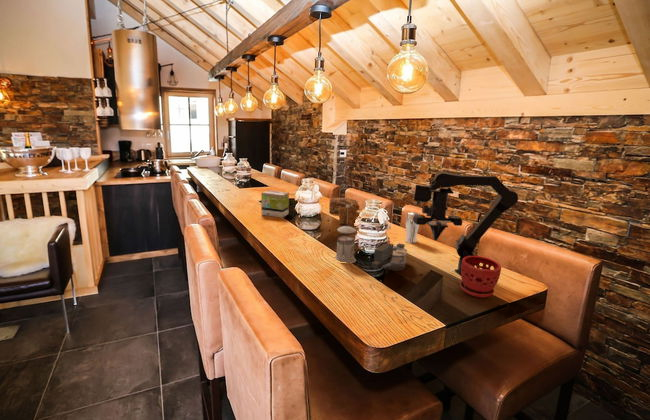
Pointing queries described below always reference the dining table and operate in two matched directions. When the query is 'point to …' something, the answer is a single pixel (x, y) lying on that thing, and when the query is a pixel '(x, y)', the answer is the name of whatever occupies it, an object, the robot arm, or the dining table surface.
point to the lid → (389, 251)
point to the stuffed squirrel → (349, 214)
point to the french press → (345, 244)
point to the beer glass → (411, 228)
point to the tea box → (275, 203)
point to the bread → (339, 204)
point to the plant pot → (479, 276)
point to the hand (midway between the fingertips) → (435, 240)
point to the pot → (391, 263)
